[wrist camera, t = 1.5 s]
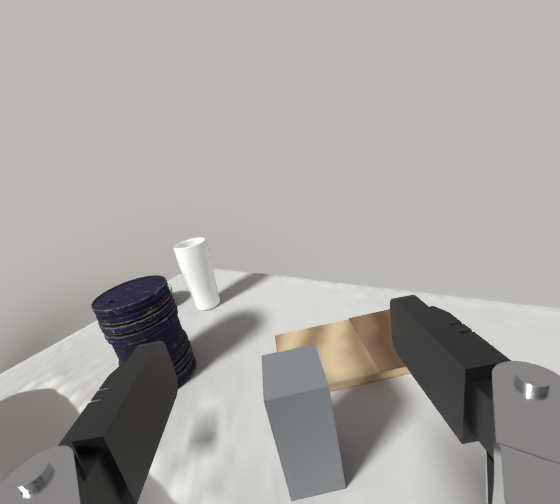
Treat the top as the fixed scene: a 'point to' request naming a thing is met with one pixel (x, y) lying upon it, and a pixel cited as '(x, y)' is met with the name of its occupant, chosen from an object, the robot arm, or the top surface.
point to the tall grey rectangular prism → (302, 421)
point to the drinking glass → (198, 272)
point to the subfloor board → (351, 349)
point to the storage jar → (144, 322)
